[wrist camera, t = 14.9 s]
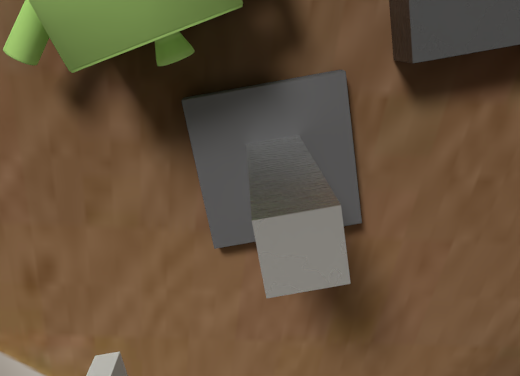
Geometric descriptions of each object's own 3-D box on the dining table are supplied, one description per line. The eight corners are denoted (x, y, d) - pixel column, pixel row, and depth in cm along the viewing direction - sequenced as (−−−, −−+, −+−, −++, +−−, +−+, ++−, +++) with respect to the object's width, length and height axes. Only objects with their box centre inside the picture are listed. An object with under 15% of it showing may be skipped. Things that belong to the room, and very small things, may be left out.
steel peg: (246, 144, 35) (251, 220, 21) (298, 135, 35) (341, 205, 20) (255, 193, 36) (266, 298, 22) (306, 185, 36) (350, 283, 22)
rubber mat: (183, 97, 35) (181, 100, 34) (341, 69, 35) (345, 71, 33) (215, 240, 39) (214, 248, 37) (357, 216, 39) (361, 222, 37)
